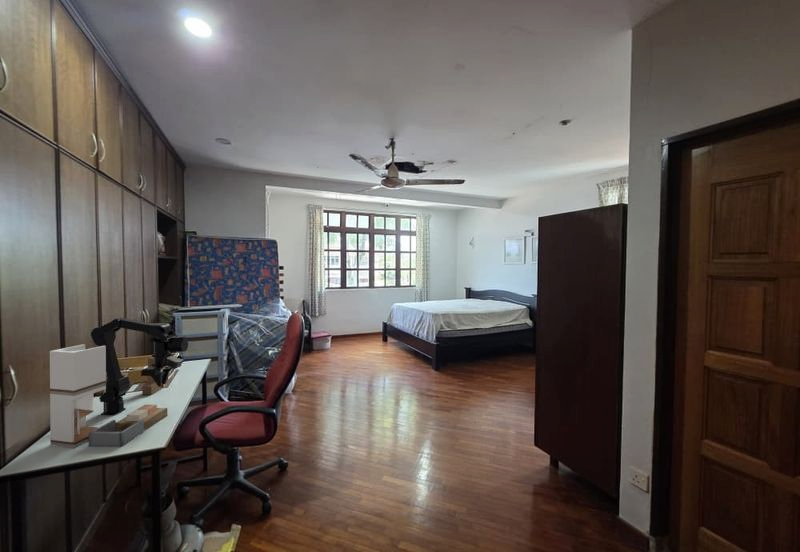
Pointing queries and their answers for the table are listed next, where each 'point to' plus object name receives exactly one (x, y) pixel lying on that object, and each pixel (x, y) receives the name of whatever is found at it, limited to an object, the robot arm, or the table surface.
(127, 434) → the charcoal tray
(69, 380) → the white dispenser tower
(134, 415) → the cream tile
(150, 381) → the wooden block
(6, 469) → the table surface
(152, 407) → the terracotta tile
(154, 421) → the wooden board
